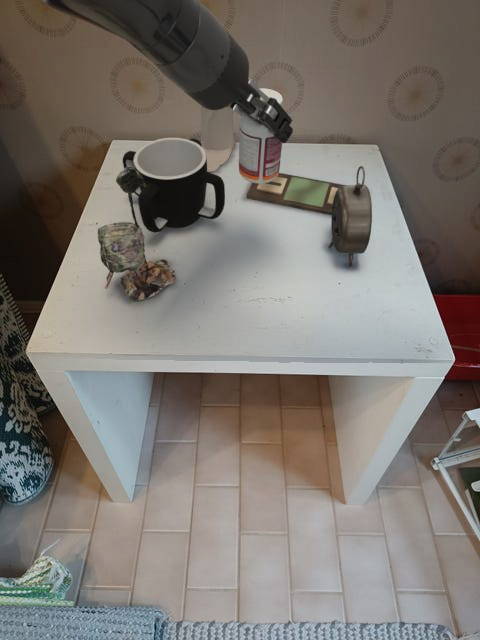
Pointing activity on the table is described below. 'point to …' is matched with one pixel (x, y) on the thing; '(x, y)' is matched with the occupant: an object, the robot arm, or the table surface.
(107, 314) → the table surface
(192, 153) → the mug
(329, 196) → the board
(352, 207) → the alarm clock
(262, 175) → the pill bottle
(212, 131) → the candle
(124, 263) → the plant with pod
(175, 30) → the robot arm
